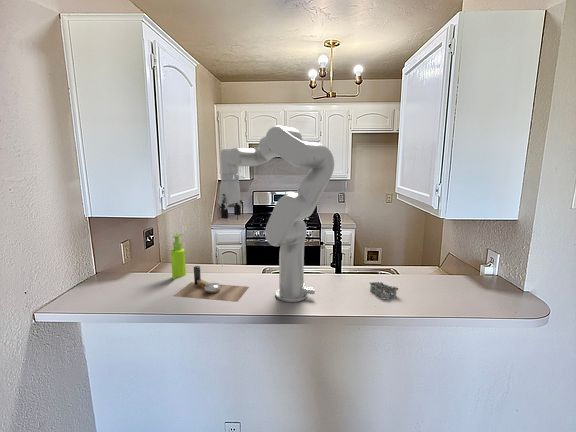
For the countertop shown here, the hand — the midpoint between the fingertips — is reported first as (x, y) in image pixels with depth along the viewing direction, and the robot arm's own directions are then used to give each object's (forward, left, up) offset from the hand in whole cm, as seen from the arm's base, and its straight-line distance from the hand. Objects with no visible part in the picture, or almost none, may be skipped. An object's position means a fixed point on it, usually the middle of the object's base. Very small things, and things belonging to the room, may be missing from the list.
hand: (231, 216), depth 135 cm
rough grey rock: (-66, +6, -29) cm, 72 cm away
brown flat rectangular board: (+1, +20, -28) cm, 35 cm away
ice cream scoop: (+5, +18, -26) cm, 32 cm away
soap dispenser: (+24, +5, -28) cm, 38 cm away
